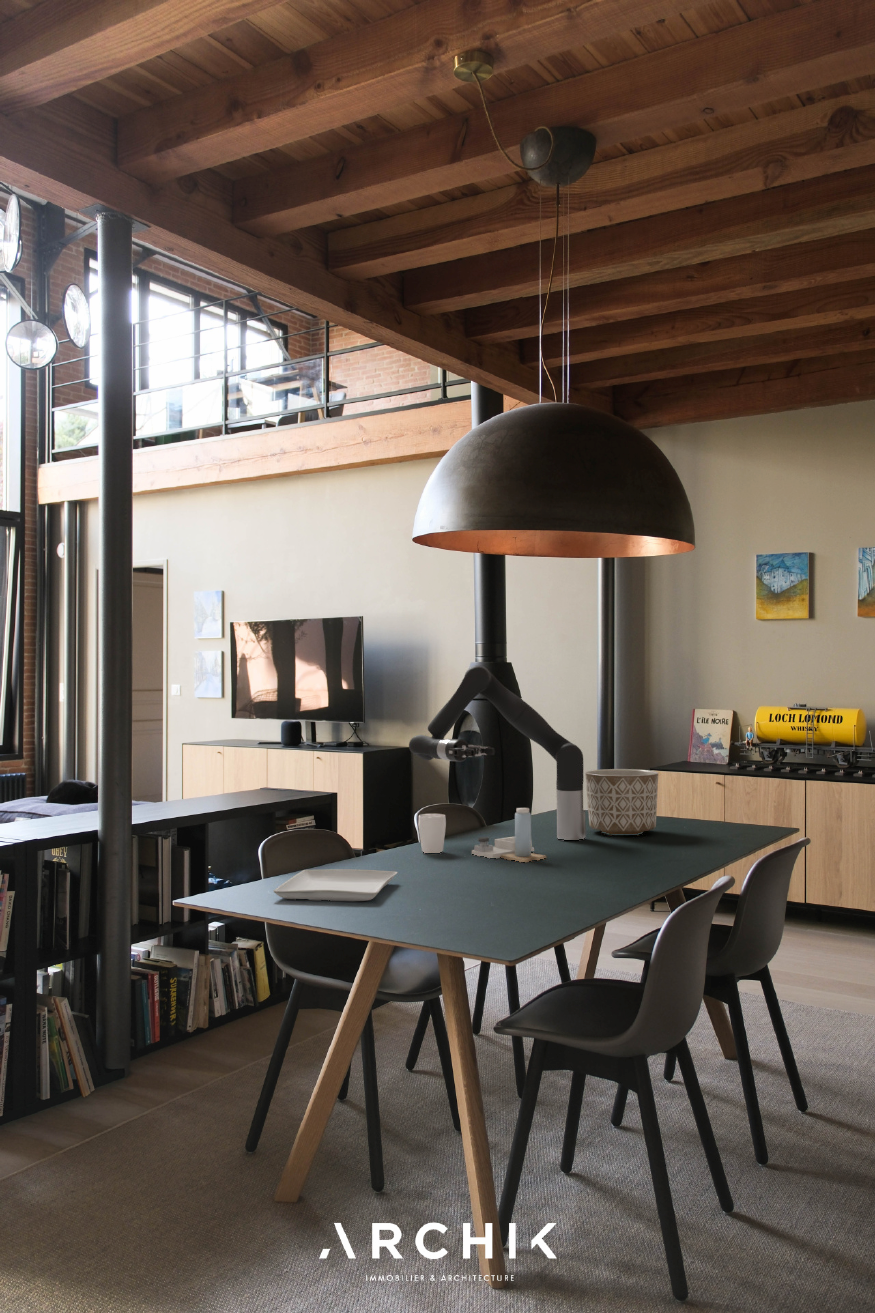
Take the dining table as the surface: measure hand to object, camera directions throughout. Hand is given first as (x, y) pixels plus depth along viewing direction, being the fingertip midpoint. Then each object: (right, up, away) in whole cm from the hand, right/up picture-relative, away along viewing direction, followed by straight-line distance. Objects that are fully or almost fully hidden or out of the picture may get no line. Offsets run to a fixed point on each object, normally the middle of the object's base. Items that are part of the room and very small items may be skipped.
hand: (484, 752), depth 326 cm
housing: (+6, -32, -8) cm, 33 cm away
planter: (+52, -32, +31) cm, 68 cm away
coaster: (+11, -31, -18) cm, 38 cm away
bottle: (+11, -30, -18) cm, 37 cm away
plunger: (-1, -30, -11) cm, 32 cm away
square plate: (-42, -32, -63) cm, 82 cm away
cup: (-17, -32, -5) cm, 37 cm away
